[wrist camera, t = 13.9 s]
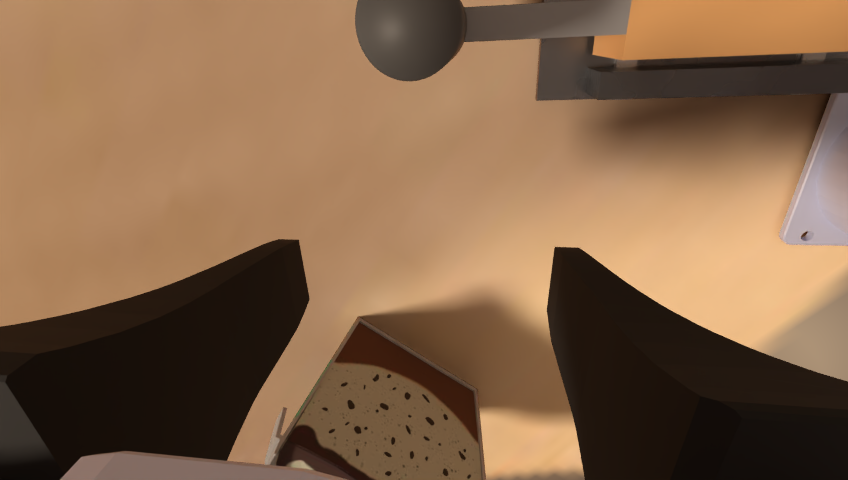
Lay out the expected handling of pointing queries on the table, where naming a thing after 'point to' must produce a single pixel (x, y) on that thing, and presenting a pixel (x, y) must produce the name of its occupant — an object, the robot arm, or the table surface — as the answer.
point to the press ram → (598, 29)
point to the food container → (383, 417)
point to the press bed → (681, 74)
